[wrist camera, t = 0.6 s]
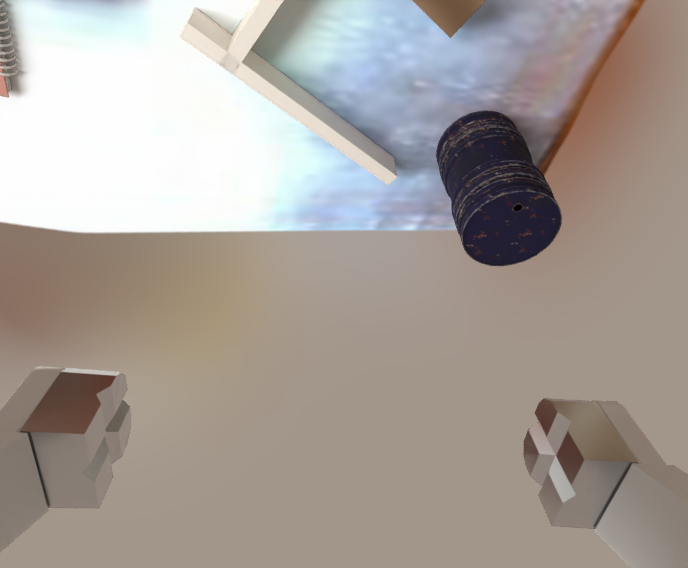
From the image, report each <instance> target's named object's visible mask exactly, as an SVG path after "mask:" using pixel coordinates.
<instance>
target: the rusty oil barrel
mask: <svg viewBox="0 0 688 568" xmlns="http://www.w3.org/2000/svg"><path fill="white" fill-rule="evenodd" d="M436 156H437V162H438V165H439V170H440V175H441V179H442V182H443V184H444V186H445V189H446V191H447V194H448V195H449V197H450V198H451V201H452V215H453V218H454V221H455V225H456V228H457V231H458V233H459V234H460V237H461V241H462V244H463V247H464V250H465V251H466V253H467V254H468V255H469V256H470V257H471V258H472V259H474V260H475V261H477V262H479V263H482V264H486V265H490V266H507V265H513V264H517V263H520V262H523V261H525V260H528V259H530V258H532V257H534V256H536V255H537V254H539V253H540V252H542V251H543V250H544V249H545V248H547V247H548V246H549V245H550V244H551V242H552V241H553V240H554V239H555V237H556V236H557V234H558V232H559V230H560V226H561V223H562V214H561V210H560V208H559V206H558V204H557V202H556V200H555V199H554V196H553V193H552V191H551V189H550V187H549V185H548V183H547V182H546V180H545V177H544V175H543V174H542V173H541V171H539V170H538V168H537V167H535V166H534V165H533V163H532V158H531V154H530V152H529V150H528V147H527V145H526V142H525V141H524V139H523V137H522V135H521V134H520V133H519V132H518V130H517V128H516V126H515V125H514V123H513V122H512V121H511V120H510V119H509V118H508V117H506V116H505V115H503V114H501V113H498V112H494V111H478V112H474V113H470V114H468V115H465V116H463V117H461V118H460V119H458V120H457V121H455V122H454V123H452V124H451V125H450V126H449V127H448V128H447V130H446V131H445V132H444V133H443V135H442V137H441V138H440V141H439V143H438V146H437V154H436Z"/></svg>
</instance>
